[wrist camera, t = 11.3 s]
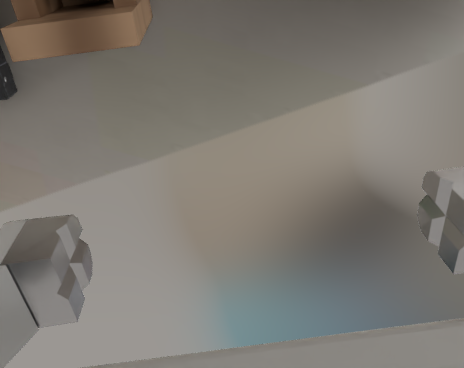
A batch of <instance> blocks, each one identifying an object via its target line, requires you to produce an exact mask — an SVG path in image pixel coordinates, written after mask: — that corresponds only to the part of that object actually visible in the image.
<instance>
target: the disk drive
mask: <svg viewBox="0 0 464 368" xmlns="http://www.w3.org/2000/svg"><path fill="white" fill-rule="evenodd" d="M16 92H17V88H16V85H15V83H14V80H13V76H12V73H11V70H10V67H9V65H8V63H7V62H6V59H5V56H4V54H3V51H2V49H1V46H0V100H7V99H9V98H10V97H12V96H13V95H14V94H15V93H16Z"/></svg>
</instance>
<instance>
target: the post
mask: <svg viewBox="0 0 464 368" xmlns="http://www.w3.org/2000/svg"><path fill="white" fill-rule="evenodd" d="M11 3H12V6H13V9H14V12H15V14H16V17H17V20H18V21H17V22H14V23H12V24H10V25H8V26H6V27H3V28H1V29H0V30H1V32H2V35H3V37H4V40H5V43H6V45H7V48H8V51H9V53H10V56H11V59H12V61H13V62H17V61H25V60H33V59H40V58H48V57H55V56H63V55H70V54H78V53H85V52H93V51H100V50H108V49H116V48H123V47H131V46H138V45H140V43H141V41H142V39H143V36H144V34H145V32H146V30H147V28H148V26H149V24H150V22H151V20H152V17H153V16H152V11H151V5H150V0H11Z"/></svg>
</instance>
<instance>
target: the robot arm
mask: <svg viewBox="0 0 464 368" xmlns="http://www.w3.org/2000/svg"><path fill="white" fill-rule="evenodd" d="M422 189H423V190H424V191H425V193H426V194H427V195H426V196H425V197H424V198H423V199H422V201H421V202H420V203H419V207H418V215H417V216H418V222H419V227H420V229H421V232H422V234H423V235H424V237H425V238H426V239H427V241H429V242H431V243H433V244H435V245H437V246H439V250H438V255H439V256H440V258H441V259H442V260H443V261H444V263H445V264H446V265H447V266H448V268H449V269H450V270H451V272H452V273H453V274H459V273H464V166H463V167H456V168H450V169H443V170H436V171H429V172H426V174H425V176H424V178H423V184H422ZM81 232H82V227H81V225H80V222H79V220H78V218H77V217H76V216H75V215H65V216H56V217H46V218H35V219H25V220H18V221H10V222H7V223H5V224H3V226H2V227H1V229H0V368H4V367H5V366H6V365H7V364H8V363H9V361H10V360H11V359H12V358H13V357H14V356H15V355H16V354H17V353H18V352H19V351H20V350H21V348H22V347H23V346H24V345H25V344H26V343H27V342H28V341H29V340H30V339H31V338H32V337H33V336H34V335H35V333H36V332H37V331H38V330H39V329H38V328H41V327H48V326H54V325H61V324H67V323H74V322H78V319H79V316H80V313H81V310H82V306H83V303H84V300H85V297H84V295H83V292H82V290H83V289H84V288H85V287H87V286H88V285H89V284H90V280H91V277H92V257H91V252H90V249H89V246H88V244H86V243H85V242H84V241H82V240H81V239H80V238H79V237H80V235H81ZM82 368H464V318H461V319H453V320H445V321H438V322H430V323H422V324H414V325H406V326H399V327H390V328H383V329H376V330H367V331H359V332H352V333H344V334H336V335H329V336H321V337H313V338H306V339H298V340H291V341H283V342H276V343H267V344H259V345H252V346H244V347H237V348H229V349H221V350H214V351H206V352H198V353H191V354H184V355H175V356H168V357H160V358H152V359H144V360H137V361H129V362H121V363H114V364H106V365H98V366H90V367H82Z"/></svg>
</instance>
